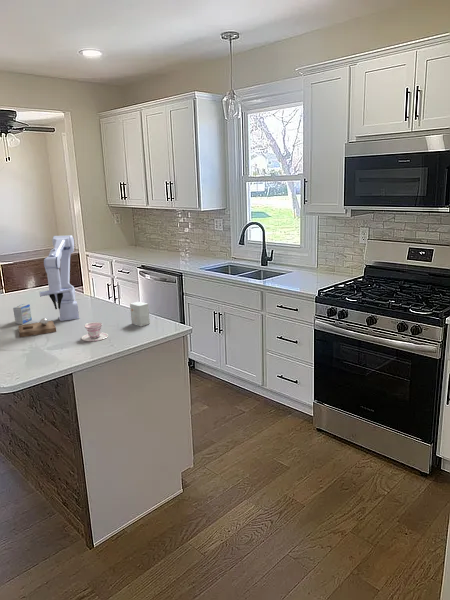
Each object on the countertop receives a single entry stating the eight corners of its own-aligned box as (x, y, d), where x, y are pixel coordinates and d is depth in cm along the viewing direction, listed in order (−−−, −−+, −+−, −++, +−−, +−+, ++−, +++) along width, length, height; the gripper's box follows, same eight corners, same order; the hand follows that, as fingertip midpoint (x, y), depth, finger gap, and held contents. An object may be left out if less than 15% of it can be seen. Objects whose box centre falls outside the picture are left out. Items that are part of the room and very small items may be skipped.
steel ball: (47, 323, 228) (46, 317, 227) (48, 325, 225) (47, 318, 224) (40, 325, 226) (39, 318, 226) (40, 326, 223) (40, 319, 222)
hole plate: (53, 324, 234) (52, 320, 234) (56, 331, 222) (55, 327, 221) (18, 329, 227) (18, 325, 227) (20, 337, 215) (19, 333, 215)
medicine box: (22, 324, 236) (20, 307, 234) (15, 324, 237) (12, 307, 235) (32, 319, 243) (29, 303, 241) (24, 319, 244) (22, 303, 242)
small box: (150, 324, 230) (148, 303, 227) (141, 326, 226) (139, 305, 223) (140, 321, 235) (138, 301, 232) (131, 323, 231) (129, 303, 228)
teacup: (80, 335, 215) (79, 322, 214) (106, 332, 219) (105, 319, 218) (82, 343, 204) (81, 330, 203) (110, 339, 208) (108, 326, 207)
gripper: (39, 284, 217) (42, 312, 220) (71, 281, 223) (74, 308, 226) (37, 282, 223) (41, 309, 226) (69, 278, 229) (72, 305, 232)
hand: (57, 308), depth 227 cm, fingers closed
